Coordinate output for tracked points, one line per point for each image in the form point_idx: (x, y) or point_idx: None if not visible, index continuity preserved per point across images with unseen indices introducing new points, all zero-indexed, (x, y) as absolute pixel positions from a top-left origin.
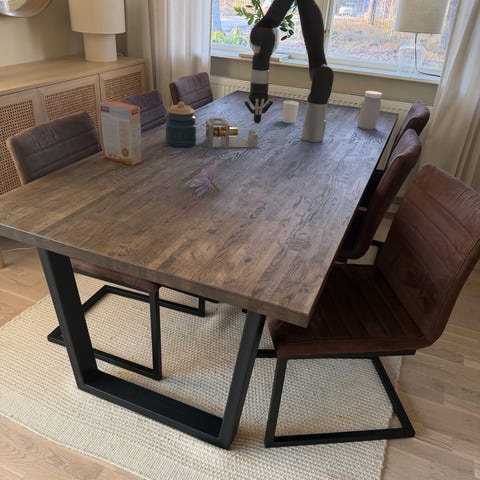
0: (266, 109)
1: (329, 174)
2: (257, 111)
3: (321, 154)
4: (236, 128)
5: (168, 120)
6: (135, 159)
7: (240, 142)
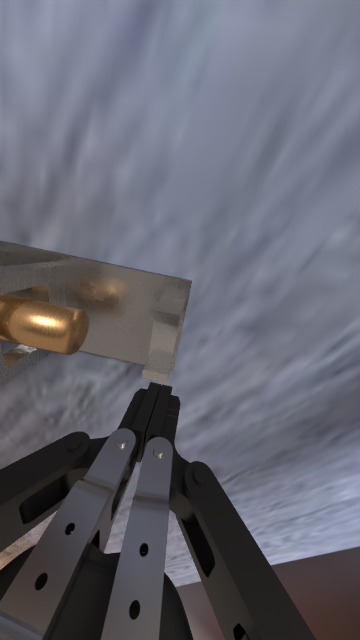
0: (207, 547)
1: (248, 528)
2: (118, 497)
3: (343, 459)
4: (56, 350)
5: None
6: None
7: (120, 315)
